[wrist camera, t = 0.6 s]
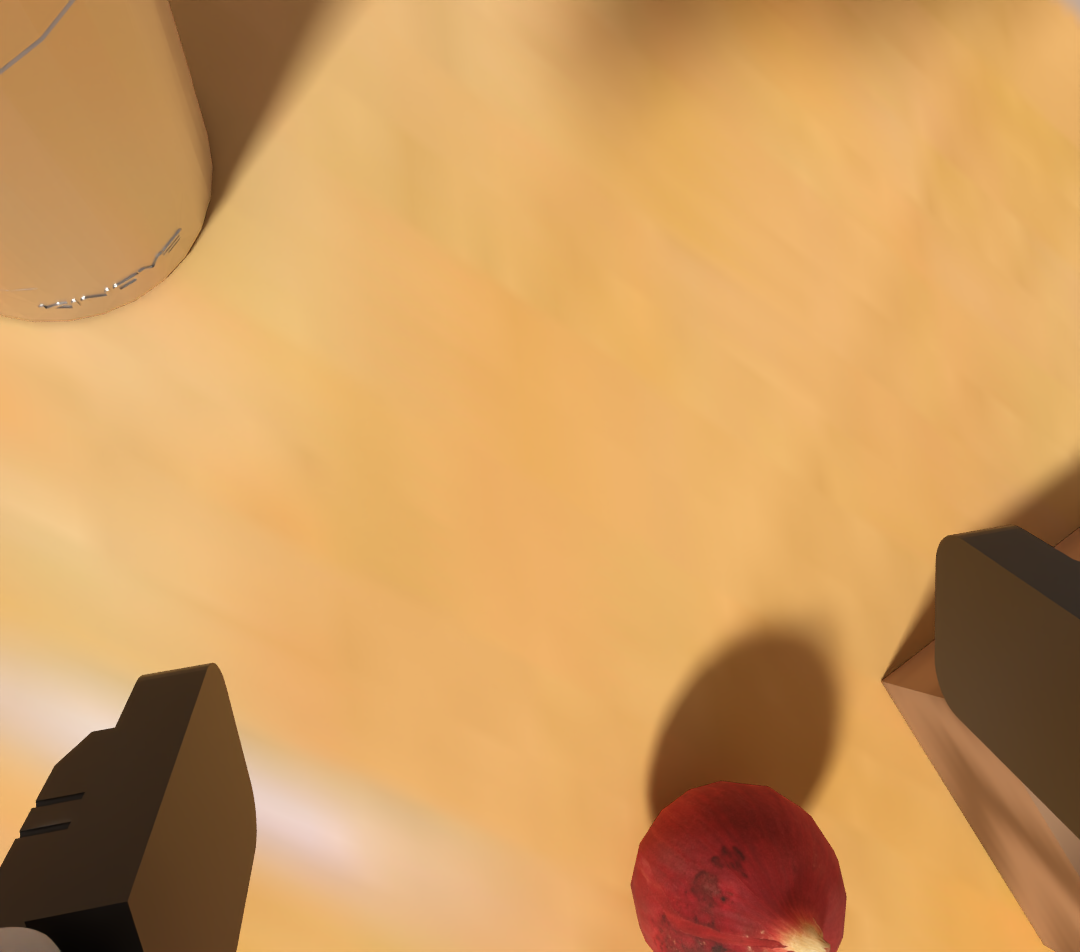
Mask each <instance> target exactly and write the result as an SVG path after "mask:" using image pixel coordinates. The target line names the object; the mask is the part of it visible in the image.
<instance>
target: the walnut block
mask: <svg viewBox="0 0 1080 952" xmlns="http://www.w3.org/2000/svg"><path fill="white" fill-rule="evenodd" d="M1054 548H1055V549H1057V550H1059V551H1060V552H1062V553H1064V554H1065V555H1067V556H1069V557H1070V558H1072V559H1074V560H1077V561H1080V527H1079V528H1078V529H1077V530H1076V531H1074V532H1073V533H1072V534H1070V535H1069V536H1068V537H1067V538H1065V539H1064V540H1063V541H1061V542H1060V543H1059V544H1058V545H1056V546H1055V547H1054ZM881 682H882V683H883V685H884V687H885V688H886V690H887V691H888V693H889V695H890V696H891V698H892V700H893V701H894V703H895V704H896V706H897V708H898V709H899V711H900V713H901V714H902V716H903V717H904V719H905V721H906V722H907V724H908V725H909V727H910V729H911V730H912V732H913V734H914V735H915V737H916V738H917V740H918V742H919V743H920V745H921V747H922V748H923V750H924V751H925V753H926V755H927V756H928V758H929V759H930V761H931V763H932V764H933V766H934V768H935V769H936V771H937V772H938V774H939V776H940V777H941V779H942V781H943V782H944V784H945V785H946V787H947V789H948V790H949V792H950V793H951V795H952V797H953V798H954V800H955V802H956V803H957V805H958V806H959V808H960V810H961V811H962V813H963V814H964V816H965V818H966V819H967V821H968V823H969V824H970V826H971V827H972V829H973V831H974V832H975V834H976V836H977V837H978V839H979V840H980V842H981V844H982V845H983V847H984V848H985V850H986V852H987V853H988V855H989V857H990V858H991V860H992V861H993V863H994V865H995V866H996V868H997V870H998V871H999V873H1000V874H1001V876H1002V878H1003V879H1004V881H1005V882H1006V884H1007V886H1008V887H1009V889H1010V891H1011V892H1012V894H1013V895H1014V897H1015V899H1016V900H1017V902H1018V904H1019V905H1020V907H1021V908H1022V910H1023V912H1024V913H1025V915H1026V916H1027V918H1028V920H1029V921H1030V923H1031V925H1032V926H1033V928H1034V929H1035V931H1036V933H1037V934H1038V936H1039V938H1040V939H1041V941H1042V942H1043V944H1044V945H1045V946H1047V947H1048V948H1050V949H1052V950H1054V951H1055V952H1080V840H1079V839H1078V838H1077V837H1076V836H1075V835H1074V834H1073V833H1072V832H1071V831H1070V830H1069V829H1068V828H1067V827H1066V826H1065V825H1064V824H1063V823H1062V822H1061V821H1060V820H1059V819H1058V818H1057V817H1056V816H1055V815H1054V814H1053V813H1052V812H1051V811H1050V810H1049V809H1048V808H1047V807H1046V806H1045V805H1044V804H1043V803H1042V802H1041V801H1040V800H1039V799H1038V798H1037V797H1036V796H1035V795H1034V794H1033V793H1032V792H1031V791H1030V790H1029V789H1028V788H1027V787H1026V786H1025V785H1024V784H1023V783H1022V782H1021V781H1020V780H1019V779H1018V778H1017V777H1016V776H1015V775H1014V774H1013V773H1012V772H1011V771H1010V770H1009V769H1008V768H1007V767H1006V766H1005V765H1004V764H1003V763H1002V762H1001V761H1000V760H999V759H998V758H997V757H996V756H995V755H994V754H993V753H992V752H991V751H990V750H989V749H988V748H987V747H986V746H985V745H984V744H983V743H982V742H981V741H980V740H979V739H978V738H977V737H976V736H975V735H974V734H973V733H972V732H971V731H970V730H969V729H968V728H967V727H966V726H965V725H964V724H963V723H962V722H961V721H960V720H959V719H958V718H957V716H956V715H955V714H954V713H953V712H952V710H951V709H950V707H949V706H948V704H947V702H946V701H945V698H944V696H943V694H942V692H941V689H940V686H939V683H938V679H937V675H936V669H935V640H934V641H932V642H931V643H930V644H929V645H927V646H926V647H925V648H923V649H922V650H921V651H920V652H918V653H917V654H916V655H914V656H913V657H912V658H911V659H909V660H908V661H907V662H905V663H904V664H903V665H902V666H900V667H899V668H898V669H896V670H895V671H894V672H893V673H891V674H890V675H889V676H887V677H886V678H885V679H884V680H882V681H881Z"/></svg>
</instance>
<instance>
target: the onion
mask: <svg viewBox="0 0 1080 952" xmlns="http://www.w3.org/2000/svg"><path fill="white" fill-rule="evenodd" d="M631 889H632V894H633V899H634V903H635V908H636V913H637V917H638V922H639V926H640V929H641V931H642V934H643V936H644V938H645V941H646V942H647V944H648V945H649V946H650V947H651V949H652V950H653V951H654V952H837V950H838V947H839V945H840V943H841V940H842V938H843V932H844V921H845V909H846V892H845V888H844V884H843V879H842V875H841V871H840V866H839V862H838V859H837V857H836V855H835V852H834V850H833V849H832V847H831V846H830V844H829V843H828V841H827V840H826V838H825V837H824V835H823V834H822V832H821V831H820V829H819V827H818V826H817V824H816V823H815V821H814V820H813V818H812V817H811V816H810V815H809V814H808V813H807V812H805V811H804V810H803V809H802V808H801V807H799V806H798V805H796V804H795V803H793V802H792V801H790V800H788V799H787V798H785V797H784V796H782V795H781V794H779V793H778V792H776V791H774V790H773V789H771V788H770V787H768V786H761V785H751V784H741V783H734V782H726V781H718V782H715V783H711V784H708V785H704V786H700V787H697V788H693V789H690V790H688V791H687V792H685V793H684V794H683V795H681V796H680V797H679V798H677V799H676V800H675V801H673V802H672V803H671V804H669V805H668V806H667V807H665V808H664V809H663V810H661V812H660V813H659V815H658V816H657V818H656V819H655V821H654V823H653V824H652V826H651V827H650V829H649V830H648V832H647V833H646V835H645V836H644V838H643V840H642V841H641V843H640V845H639V849H638V854H637V858H636V863H635V867H634V872H633V876H632V880H631Z"/></svg>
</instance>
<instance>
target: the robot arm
mask: <svg viewBox="0 0 1080 952" xmlns="http://www.w3.org/2000/svg"><path fill="white" fill-rule="evenodd" d="M212 169H213V165H212V159H211V152H210V146H209V140H208V134H207V131H206V127H205V124H204V121H203V117H202V114H201V110H200V107H199V104H198V100H197V97H196V94H195V90H194V87H193V83H192V78H191V75H190V71H189V68H188V65H187V61H186V58H185V55H184V51H183V48H182V45H181V41H180V38H179V35H178V31H177V28H176V25H175V21H174V18H173V15H172V11H171V8H170V5H169V1H168V0H0V316H5V317H10V318H16V319H21V320H26V321H32V322H40V321H72V320H77V319H82V318H87V317H92V316H97V315H102V314H105V313H107V312H110V311H112V310H114V309H117V308H119V307H121V306H124V305H126V304H128V303H131V302H133V301H135V300H137V299H138V298H140V297H141V296H143V295H144V294H145V293H147V292H148V291H150V290H151V289H153V288H154V287H155V286H157V285H158V284H160V283H161V282H163V281H164V280H165V279H166V277H167V276H168V275H169V274H170V273H171V272H172V271H173V270H174V269H175V268H176V267H177V265H178V264H179V263H180V262H181V261H182V260H183V259H184V258H185V257H186V255H187V253H188V252H189V250H190V248H191V246H192V244H193V243H194V241H195V239H196V237H197V236H198V234H199V232H200V230H201V229H202V225H203V222H204V219H205V215H206V212H207V209H208V205H209V202H210V199H211V185H212ZM935 669H936V675H937V679H938V683H939V686H940V689H941V692H942V694H943V696H944V698H945V701H946V702H947V704H948V706H949V707H950V709H951V710H952V712H953V713H954V714H955V715H956V716H957V718H958V719H959V720H960V721H961V722H962V723H963V724H964V725H965V726H966V727H967V728H968V729H969V730H970V731H971V732H972V733H973V734H974V735H975V736H976V737H977V738H978V739H979V740H980V741H981V742H982V743H983V744H984V745H985V746H986V747H987V748H988V749H989V750H990V751H991V752H992V753H993V754H994V755H995V756H996V757H997V758H998V759H999V760H1000V761H1001V762H1002V763H1003V764H1004V765H1005V766H1006V767H1007V768H1008V769H1009V770H1010V771H1011V772H1012V773H1013V774H1014V775H1015V776H1016V777H1017V778H1018V779H1019V780H1020V781H1021V782H1022V783H1023V784H1024V785H1025V786H1026V787H1027V788H1028V789H1029V790H1030V791H1031V792H1032V793H1033V794H1034V795H1035V796H1036V797H1037V798H1038V799H1039V800H1040V801H1041V802H1042V803H1043V804H1044V805H1045V806H1046V807H1047V808H1048V809H1049V810H1050V811H1051V812H1052V813H1053V814H1054V815H1055V816H1056V817H1057V818H1058V819H1059V820H1060V821H1061V822H1062V823H1063V824H1064V825H1065V826H1066V827H1067V828H1068V829H1069V830H1070V831H1071V832H1072V833H1073V834H1074V835H1075V836H1076V837H1077V838H1078V839H1079V840H1080V561H1077V560H1074V559H1072V558H1070V557H1069V556H1067V555H1065V554H1064V553H1062V552H1060V551H1059V550H1057V549H1055V548H1054V547H1052V546H1050V545H1049V544H1047V543H1045V542H1044V541H1042V540H1040V539H1039V538H1037V537H1035V536H1034V535H1032V534H1030V533H1029V532H1027V531H1025V530H1024V529H1022V528H1020V527H1018V526H1015V525H1006V526H1000V527H994V528H989V529H983V530H977V531H971V532H966V533H960V534H954V535H949V536H946V537H945V538H944V539H943V540H942V541H941V542H940V544H939V547H938V549H937V554H936V582H935ZM256 833H257V829H256V811H255V802H254V796H253V790H252V786H251V782H250V778H249V774H248V770H247V766H246V762H245V758H244V754H243V751H242V747H241V743H240V739H239V735H238V731H237V727H236V723H235V719H234V716H233V712H232V708H231V704H230V700H229V696H228V692H227V688H226V685H225V681H224V678H223V676H222V673H221V671H220V669H219V668H218V666H217V665H216V664H215V663H209V664H204V665H198V666H192V667H187V668H181V669H175V670H170V671H164V672H158V673H152V674H147V675H142V676H140V677H139V678H138V680H137V682H136V684H135V686H134V688H133V690H132V692H131V695H130V697H129V699H128V701H127V703H126V705H125V707H124V710H123V712H122V714H121V716H120V718H119V720H118V722H117V724H116V727H115V728H110V729H105V730H99V731H94V732H91V733H90V734H89V735H88V736H87V737H86V738H85V739H84V740H82V741H81V742H80V743H79V744H78V745H77V746H76V747H75V748H74V749H73V750H71V751H70V752H69V753H68V754H67V755H66V756H65V757H64V758H63V759H62V760H60V761H59V762H58V763H57V764H56V765H55V766H54V768H53V770H52V772H51V774H50V775H49V777H48V779H47V781H46V783H45V785H44V787H43V788H42V790H41V792H40V794H39V796H38V798H37V800H36V808H32V809H31V811H30V813H29V815H28V816H27V818H26V820H25V822H24V824H23V826H22V828H21V829H20V838H18V839H15V841H14V843H13V844H12V846H11V848H10V850H9V852H8V854H7V856H6V857H5V859H4V861H3V863H2V865H1V867H0V952H236V950H237V945H238V939H239V934H240V929H241V923H242V918H243V913H244V907H245V902H246V897H247V891H248V886H249V881H250V875H251V870H252V865H253V859H254V854H255V848H256Z"/></svg>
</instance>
